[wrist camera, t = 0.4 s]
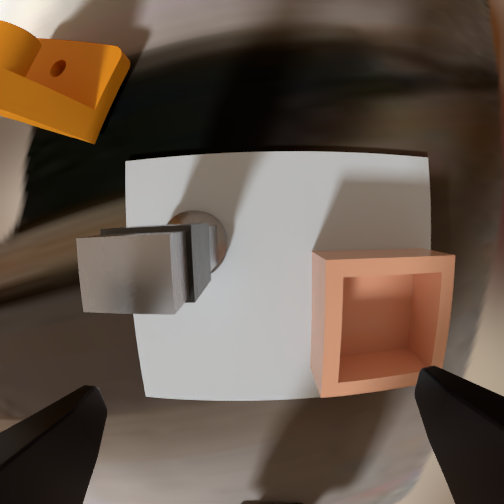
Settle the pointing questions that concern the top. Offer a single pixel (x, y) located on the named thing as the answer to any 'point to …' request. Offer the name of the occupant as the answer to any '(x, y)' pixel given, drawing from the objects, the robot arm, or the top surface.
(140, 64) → the top surface
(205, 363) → the bench mat
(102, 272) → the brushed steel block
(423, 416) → the robot arm
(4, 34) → the bracket
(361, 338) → the holder
